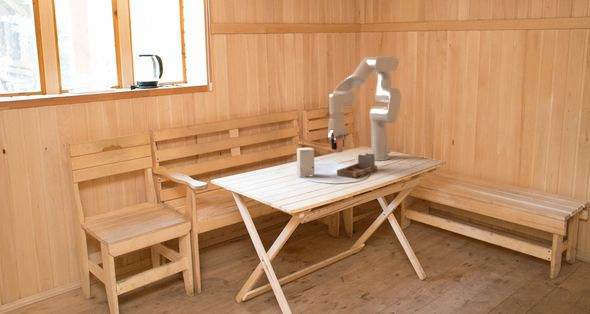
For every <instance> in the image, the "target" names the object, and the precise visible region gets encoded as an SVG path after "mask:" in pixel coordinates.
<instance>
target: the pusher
mask: <svg viewBox="0 0 590 314" xmlns="http://www.w3.org/2000/svg"><path fill="white" fill-rule="evenodd" d="M357 156H358V159H357V161H358V162H357V163H358V167H359V168H368V167H371V166H374V165H376V164H375V163H376V162H375V161H376V160H375V154H371V153H368V152H367V153H365V154H358V155H357Z"/></svg>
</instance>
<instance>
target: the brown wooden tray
mask: <svg viewBox="0 0 590 314" xmlns="http://www.w3.org/2000/svg"><path fill="white" fill-rule="evenodd" d="M377 171H378V165H376V164H375V165H374V166H371V167H368V168H359V167H358V162H356V163H355V164H352V165H349V166H345V167H343V168H340V169H337V170H336V176H337V175H338V176H337V177H342V176H343V178H349V179H358V178H361V177H364V176H367V175H370V174H372V173H375V172H377Z"/></svg>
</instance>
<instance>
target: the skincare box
mask: <svg viewBox="0 0 590 314" xmlns="http://www.w3.org/2000/svg"><path fill="white" fill-rule="evenodd" d="M296 175H297V176H298V177H299V178H304V177H303V176H308V177H311V176H310V175H314V176H315V149H314V148H312V147H300V148H296Z"/></svg>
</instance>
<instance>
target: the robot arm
mask: <svg viewBox="0 0 590 314" xmlns="http://www.w3.org/2000/svg"><path fill="white" fill-rule="evenodd" d="M398 68H399V60H398V58H397V57H395V56H394V55H393V56H392V55H391V56H389V55H388V56H385V55H378V56H377V55H376V56H365V57H364V58H363V59H362V60H361V61H360V63H359V64H358V65H357V67H356V69H355V70H354V72H352V74H351V75H349V76H348V77H347V78H345V79H344V80H342V81H340V83H338V84H337V86H336V87H335V88H334V90H333V92H332V93H330V94H329V95H328V104H329V105H328V107H329V108H328V110H329V119H328V125H327V126H328V127H327V129H328V130H327V131H328V132H327V133H328V134H327V135H328V137H327V138H328V140H329V141H330V144H331V150H333V149H334V150H337V142H336V137H338V136H341V135H343V148H345V139H346V138H345V137H346V135H347V131H346V123H345V118H344V106H352V105H354V104H355V103H356V101H357V96H356V94H355V92H354V91H351V90H353V89H354V88H355V89H356V88H358V87H361V86H363V85H365V84H366V82H367V81H368V79H369V77H370V76H371V75H372V73H375V74H376V86H375V92H374V100H375V102H376V103H377V104H378V103H379V104H385V105H373V106H371V108H370V109H369V112H368V113H369V114H368V115H369V121H370V130H371V131H370V134H371V135H370V139H371V140H370V143H371V148H370V149H371V153H370V154H375V161H387V160H390V159H391V156H390V155H389V154H390V153H391V152H392V150H391V149H388V131H389V130H388V126H387V124H393V123H395V122H396V121H397V120H398V119H399V113H400V107H401V100H402V93H401V91H400V89H399V88H397V87H392V82H393V79H392V76H391V73H390V72H395V71H396V70H398ZM386 123H387V124H386ZM333 136H334V137H333ZM333 138H334V139H333Z"/></svg>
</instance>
